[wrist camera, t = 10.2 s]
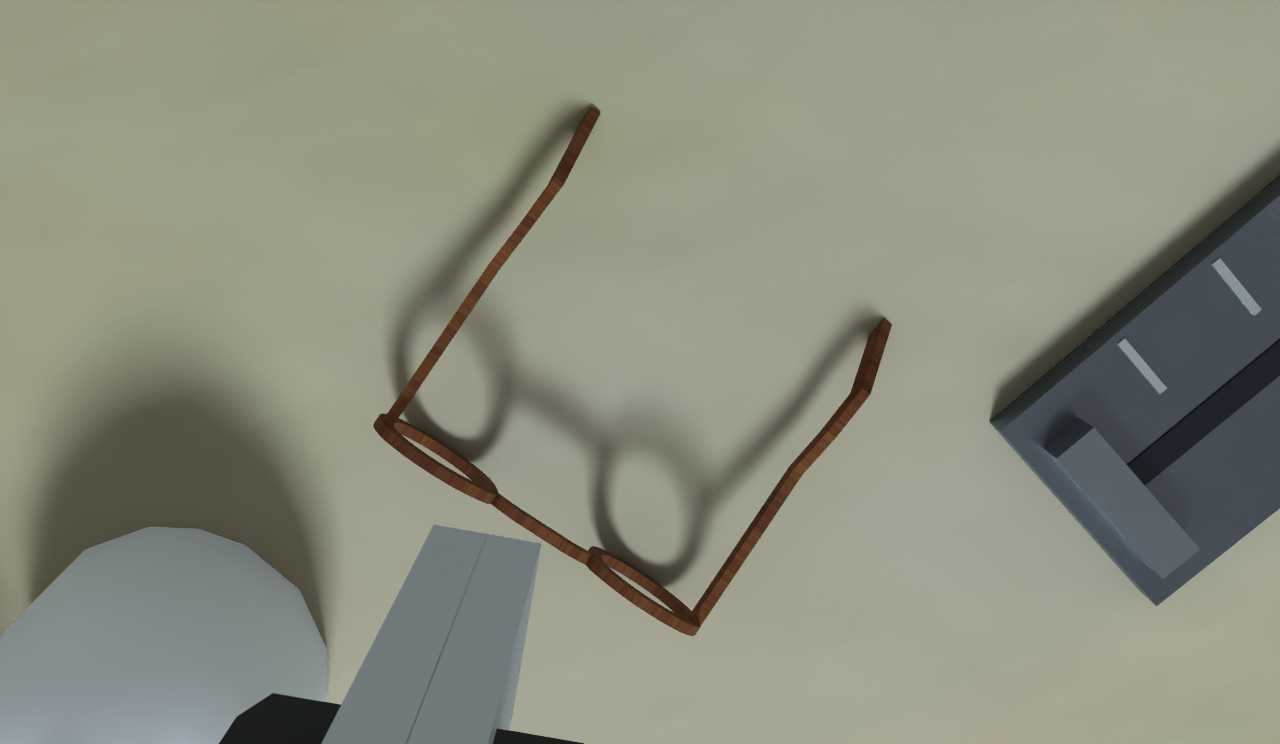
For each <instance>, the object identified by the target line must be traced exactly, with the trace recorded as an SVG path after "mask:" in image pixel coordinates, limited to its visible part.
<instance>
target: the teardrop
mask: <svg viewBox="0 0 1280 744" xmlns="http://www.w3.org/2000/svg"><path fill="white" fill-rule="evenodd" d="M272 693H276V694H282V695H287V696H293V697H299V698H305V699H310V700H316V701H322V702H324V701H325V698H326V696H327V693H328V678H327V648H326V646H325V644H324V641H323V639H322V637H321V635H320V633H319V631H318V629H317V626H316V624H315V622H314V620H313V618H312V616H311V613H310V611H309V609H308V607H307V605H306V603H305V600H304V598H303V596H302V594H301V592H300V590H299V589H298V588H297V587H296V586H295V585H293V584H292V583H291V582H290V581H288V580H287V579H286V578H285V577H284V576H282V575H281V574H280V573H279V572H278V571H276V570H275V569H274V568H273V567H272V566H270V565H269V564H268V563H267V562H265V561H264V560H263V559H262V558H261V557H259V556H258V555H257V554H256V553H255V552H253V551H252V550H251V549H250V548H249V547H247V546H246V545H244V544H241V543H238V542H235V541H233V540H230V539H227V538H224V537H221V536H218V535H215V534H212V533H209V532H207V531H204V530H201V529H195V528H171V527H147V528H144V529H141V530H138V531H135V532H132V533H130V534H127V535H124V536H121V537H118V538H115V539H113V540H110V541H107V542H104V543H101V544H98V545H96V546H93V547H90V548H87V549H85V550H84V551H83V552H82V553H81V554H80V555H79V556H78V557H77V558H76V559H75V560H74V561H73V562H72V563H71V564H70V565H69V566H68V567H67V568H66V569H65V570H64V571H63V572H62V573H61V574H60V575H59V576H58V577H57V578H56V579H55V580H54V581H53V582H52V583H51V584H50V585H49V586H48V587H47V588H46V589H45V590H44V591H43V592H42V593H41V594H40V595H39V596H38V597H37V598H36V599H35V600H34V601H33V602H32V603H31V604H30V605H29V606H28V607H27V608H26V609H25V610H24V611H23V612H22V613H21V614H20V616H19V617H18V618H17V619H16V620H15V621H14V622H13V623H12V624H11V625H10V626H9V627H8V628H7V630H6V631H5V632H4V633H3V634H2V635H1V636H0V744H219V742H220V741H221V739H222V738H223V736H224V735H225V733H226V732H227V730H228V729H229V727H230V726H231V724H232V723H233V721H234V720H235V718H236V717H237V716H238V715H240V714H241V713H243V712H244V711H246V710H248V709H249V708H251V707H252V706H254V705H255V704H257V703H258V702H260V701H261V700H263V699H264V698H266V697H267V696H269V695H271V694H272Z"/></svg>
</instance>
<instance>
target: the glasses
mask: <svg viewBox="0 0 1280 744" xmlns="http://www.w3.org/2000/svg"><path fill="white" fill-rule="evenodd" d="M599 115H600V113H599V112H597V111H596V110H594V109H593V108H590V110H589V111H588V113H587V114H586V116H585V117H584V119H583V120H582V122H581V124H580V125H579V127H578V129H577V130H576V132H575V134H574V136H573V138H572V140H571V142H570V144H569V146H568V148H567V150H566V151H565V153H564V155H563V157H562V159H561V161H560V163H559V165H558V167H557V169H556V171H555V172H554V174H553V176H552V178H551V180H550V182H549V184H548V186H547V187H546V188H545V190H544V191H543V192H542V194H541V195H540V197H539V198H538V199H537V201H536V202H535V204H534V205H533V206H532V208H531V209H530V211H529V212H528V213H527V215H526V216H525V217H524V219H523V220H522V222H521V223H520V224H519V226H518V227H517V228H516V230H515V231H514V232H513V233H512V235H511V236H510V237H509V239H508V240H507V241H506V243H505V244H504V245H503V247H502V248H501V249H500V250H499V252H498V253H497V254H496V256H495V257H494V258H493V260H492V261H491V262H490V263H489V265H488V266H487V268H486V269H485V271H484V272H483V274H482V275H481V277H480V278H479V280H478V281H477V283H476V284H475V286H474V287H473V288H472V290H471V291H470V293H469V294H468V296H467V297H466V299H465V300H464V302H463V303H462V305H461V306H460V308H459V309H458V311H457V312H456V313H455V315H454V316H453V318H452V319H451V321H450V322H449V324H448V325H447V327H446V328H445V330H444V331H443V333H442V334H441V336H440V337H439V338H438V340H437V341H436V343H435V344H434V346H433V347H432V349H431V350H430V352H429V353H428V355H427V356H426V358H425V359H424V361H423V362H422V364H421V365H420V366H419V368H418V369H417V371H416V372H415V374H414V375H413V377H412V378H411V380H410V381H409V383H408V384H407V386H406V387H405V389H404V390H403V391H402V393H401V394H400V396H399V397H398V399H397V400H396V402H395V403H394V405H393V406H392V408H391V409H390V411H389V412H388V414H380V415H379V417H378V418H377V420H376V421H375V423H374V425H373V426H374V429H375V430H376V431H377V433H378V434H379V435H380V436H381V437H382V438H383V439H384V440H385V441H386V442H387V443H389V444H390V445H391V446H392V447H393V448H395V449H396V450H397V451H399V452H400V453H401V454H402V455H404V456H405V457H407V458H408V459H409V460H411V461H412V462H414V463H415V464H417V465H418V466H420V467H421V468H423V469H424V470H426V471H427V472H429V473H430V474H432V475H433V476H435V477H437V478H438V479H440V480H441V481H443V482H445V483H447V484H448V485H450V486H452V487H453V488H455V489H457V490H459V491H461V492H463V493H465V494H467V495H469V496H471V497H473V498H475V499H477V500H480V501H482V502H484V503H487V504H492V505H493V506H495V507H496V508H497V509H498V510H500V511H501V512H502V513H504V514H505V515H506V516H508V517H509V518H511V519H512V520H514V521H515V522H517V523H518V524H520V525H521V526H523V527H524V528H526V529H527V530H529V531H530V532H532V533H534V534H535V535H537V536H538V537H540V538H541V539H543V540H544V541H546V542H548V543H549V544H551V545H552V546H554V547H555V548H557V549H558V550H560V551H562V552H563V553H565V554H567V555H568V556H570V557H572V558H574V559H575V560H577V561H579V562H581V563H583V564H585V565H586V566H587V567H588V568H589V569H590V570H591V571H592V572H593V573H594V574H595V575H597V576H598V577H599V578H600V579H601V580H603V581H604V582H605V583H606V584H608V585H609V586H610V587H611V588H613V589H614V590H615V591H617V592H618V593H619V594H621V595H622V596H623V597H625V598H626V599H627V600H629V601H630V602H632V603H633V604H635V605H636V606H637V607H639V608H641V609H642V610H644V611H645V612H647V613H648V614H650V615H651V616H653V617H655V618H656V619H658V620H659V621H661V622H663V623H665V624H666V625H668V626H670V627H672V628H674V629H675V630H677V631H679V632H682V633H684V634H686V635H690V636H694V635H695V634H696V633H697V631H698V630H699V628H700V627H701V625H702V623H703V622H704V620H705V619H706V617H707V616H708V614H709V613H710V611H711V610H712V608H713V607H714V605H715V604H716V602H717V601H718V599H719V598H720V597H721V595H722V594H723V592H724V591H725V589H726V588H727V586H728V585H729V583H730V582H731V580H732V579H733V577H734V576H735V574H736V573H737V571H738V570H739V568H740V567H741V565H742V564H743V562H744V561H745V559H746V558H747V556H748V555H749V553H750V552H751V550H752V549H753V547H754V546H755V544H756V543H757V541H758V540H759V538H760V537H761V535H762V534H763V532H764V531H765V530H766V528H767V527H768V525H769V524H770V522H771V521H772V519H773V518H774V516H775V515H776V513H777V512H778V510H779V509H780V507H781V506H782V504H783V503H784V501H785V500H786V498H787V497H788V495H789V494H790V492H791V491H792V489H793V488H794V486H795V485H796V483H797V482H798V480H799V479H800V477H801V476H802V475H803V474H804V472H805V471H806V470H807V469H808V468H809V467H810V466H811V465H812V464H813V462H814V461H815V460H816V459H817V458H818V457H819V456H820V455H821V454H822V452H823V451H824V450H825V449H826V448H827V447H828V446H829V445H830V444H831V442H832V441H833V440H834V439H835V438H836V437H837V436H838V434H839V433H840V432H841V430H842V429H843V428H844V427H845V425H846V424H847V423H848V422H849V420H850V419H851V418H852V417H853V415H854V414H855V413H856V412H857V410H858V409H859V408H860V407H861V405H862V404H863V403H864V402H865V400H866V399H867V398H868V397H869V395H870V393H871V390H872V387H873V384H874V381H875V377H876V374H877V371H878V368H879V364H880V361H881V358H882V355H883V352H884V348H885V345H886V342H887V339H888V335H889V332H890V329H891V326H892V325H891V324H890V323H889V322H888V321H887V320H885V319H883V320H882V321H881V322H880V323H879V325H878V326H877V327H876V328H875V329H874V330H873V332H872V333H871V334H870V335H869V338H868V341H867V344H866V347H865V350H864V353H863V356H862V359H861V363H860V366H859V369H858V372H857V375H856V378H855V381H854V384H853V387H852V390H851V393H850V394H849V396H848V397H847V398H846V400H845V401H844V402H843V403H842V405H841V406H840V407H839V408H838V410H837V411H836V412H835V413H834V415H833V416H832V417H831V419H830V420H829V421H828V422H827V424H826V425H825V426H824V427H823V429H822V430H821V431H820V432H819V434H818V435H817V436H816V437H815V438H814V439H813V440H812V442H811V443H810V444H809V445H808V446H807V447H806V448H805V449H804V451H803V452H802V453H801V454H800V455H799V456H798V457H797V459H796V460H795V461H794V462H793V463H792V464H791V465H790V466H789V468H788V469H787V471H786V472H785V474H784V475H783V477H782V478H781V480H780V481H779V483H778V484H777V486H776V487H775V489H774V490H773V492H772V493H771V495H770V496H769V498H768V499H767V501H766V502H765V504H764V505H763V506H762V508H761V509H760V511H759V512H758V514H757V515H756V517H755V518H754V520H753V521H752V523H751V524H750V526H749V527H748V529H747V530H746V532H745V533H744V535H743V536H742V538H741V539H740V541H739V542H738V544H737V545H736V547H735V548H734V550H733V551H732V553H731V554H730V556H729V557H728V559H727V560H726V562H725V563H724V565H723V566H722V567H721V569H720V570H719V572H718V573H717V575H716V576H715V578H714V579H713V581H712V582H711V584H710V585H709V587H708V588H707V590H706V591H705V593H704V594H703V596H702V597H701V599H700V600H699V602H698V603H697V605H696V606H695V608H694V609H693V611H691V610H690V609H689V608H688V607H687V606H686V605H684V604H683V603H682V602H681V601H680V600H679V599H677V598H676V597H675V596H674V595H672V594H671V593H670V592H669V591H667V590H666V589H665V588H663V587H662V586H661V585H659V584H658V583H656V582H655V581H654V580H652V579H651V578H649V577H647V576H646V575H644V574H643V573H641V572H640V571H638V570H637V569H635V568H634V567H632V566H630V565H629V564H627V563H626V562H624V561H623V560H621V559H620V558H618V557H616V556H614V555H613V554H611V553H609V552H607V551H605V550H603V549H601V548H598V547H595V546H593V547H590V549H589V550H588V551H587V550H585V549H583V548H581V547H579V546H578V545H576V544H574V543H573V542H571V541H570V540H568V539H566V538H565V537H563V536H562V535H560V534H559V533H557V532H556V531H554V530H552V529H551V528H549V527H548V526H546V525H545V524H543V523H542V522H540V521H539V520H537V519H535V518H534V517H532V516H531V515H529V514H528V513H526V512H525V511H523V510H521V509H520V508H518V507H517V506H515V505H514V504H513V503H511V502H510V501H508V500H507V499H506V498H504V497H503V496H501V495H500V494H499V493H498V490H497V488H496V486H495V485H494V483H493V482H492V481H491V480H490V478H489V477H487V476H486V475H485V474H484V473H483V472H482V471H481V470H479V469H478V468H477V467H476V466H474V465H473V464H472V463H470V462H469V461H468V460H466V459H465V458H464V457H462V456H461V455H459V454H458V453H456V452H455V451H453V450H451V449H450V448H448V447H447V446H445V445H444V444H442V443H441V442H439V441H438V440H436V439H434V438H433V437H431V436H430V435H428V434H427V433H425V432H423V431H422V430H420V429H418V428H416V427H415V426H413V425H411V424H409V423H407V422H405V421H403V420H401V419H399V416H400V415H401V414H402V412H403V411H404V409H405V408H406V406H407V405H408V403H409V402H410V400H411V399H412V397H413V396H414V394H415V393H416V391H417V390H418V388H419V387H420V386H421V384H422V383H423V381H424V380H425V378H426V377H427V375H428V374H429V372H430V371H431V369H432V368H433V366H434V365H435V363H436V362H437V361H438V359H439V358H440V356H441V355H442V353H443V352H444V350H445V349H446V347H447V346H448V344H449V343H450V341H451V340H452V338H453V337H454V336H455V334H456V333H457V331H458V330H459V328H460V327H461V325H462V324H463V322H464V321H465V319H466V318H467V316H468V315H469V313H470V312H471V311H472V309H473V308H474V306H475V305H476V303H477V302H478V300H479V299H480V297H481V296H482V294H483V293H484V291H485V290H486V288H487V287H488V285H489V284H490V283H491V281H492V280H493V278H494V277H495V275H496V274H497V272H498V271H499V269H500V268H501V267H502V265H503V264H504V263H505V261H506V260H507V259H508V258H509V256H510V255H511V254H512V252H513V251H514V250H515V248H516V247H517V246H518V244H519V243H520V242H521V240H522V239H523V238H524V237H525V235H526V234H527V233H528V231H529V230H530V229H531V227H532V226H533V225H534V223H535V222H536V221H537V219H538V218H539V217H540V215H541V214H542V213H543V211H544V210H545V209H546V207H547V206H548V205H549V203H550V202H551V201H552V199H553V198H554V197H555V195H556V194H557V193H558V191H559V190H560V189H561V187H562V186H563V185H564V183H565V181H566V179H567V177H568V175H569V173H570V171H571V169H572V167H573V166H574V164H575V162H576V160H577V158H578V156H579V154H580V152H581V150H582V148H583V146H584V144H585V142H586V140H587V138H588V136H589V134H590V133H591V131H592V129H593V127H594V125H595V123H596V121H597V119H598V117H599ZM401 434H402V435H404V436H406V437H408V438H410V439H412V440H414V441H416V442H417V443H419V444H421V445H423V446H424V447H426V448H428V449H429V450H431V451H433V452H434V453H436V454H437V455H439V456H440V457H442V458H443V459H445V460H446V461H448V462H449V463H451V464H452V465H453V466H455V467H456V468H457V469H459V470H460V471H461V472H463V473H464V474H465V475H466V476H468V477H469V478H470V479H471V480H472V481H471V480H469V479H467V478H465V477H463V476H461V475H459V474H458V473H456V472H454V471H452V470H451V469H449V468H447V467H446V466H444V465H442V464H441V463H439V462H438V461H436V460H434V459H433V458H431V457H430V456H428V455H427V454H425V453H424V452H423V451H421V450H420V449H418V448H417V447H416V446H414V445H413V444H412V443H410V442H409V441H408V440H407V439H405V438H404V437H403V436H402V435H401ZM609 567H610V568H612V569H614V570H616V571H618V572H619V573H621V574H623V575H624V576H626V577H628V578H629V579H631V580H632V581H634V582H635V583H637V584H638V585H640V586H641V587H643V588H644V589H646V590H647V591H649V592H650V593H651V594H653V595H654V596H655V597H657V598H658V599H659V600H660V601H662V602H663V603H664V604H665V605H667V606H668V607H669V608H670V609H671V610H672V611H673V612H672V611H670V610H668V609H666V608H665V607H663V606H661V605H659V604H658V603H656V602H655V601H653V600H651V599H650V598H648V597H647V596H645V595H644V594H642V593H641V592H640V591H638V590H637V589H635V588H634V587H633V586H631V585H630V584H629V583H627V582H626V581H625V580H623V579H622V578H621V577H620V576H618V575H617V574H616V573H615V572H614V571H612V570H611V569H610V568H609Z"/></svg>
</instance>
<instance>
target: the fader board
mask: <svg viewBox="0 0 1280 744" xmlns="http://www.w3.org/2000/svg"><path fill="white" fill-rule="evenodd" d="M990 423H991V424H992V425H993V427H994V428H995V429H996V430H997V431H998V432H999V433H1000V434H1001V436H1002V437H1003V438H1004V439H1005V440H1006V441H1007V442H1008V443H1009V445H1010V446H1011V447H1012V448H1013V449H1014V450H1015V451H1016V452H1017V453H1018V455H1019V456H1020V457H1021V458H1022V459H1023V460H1024V461H1025V462H1026V464H1027V465H1028V466H1029V467H1030V468H1031V469H1032V470H1033V471H1034V473H1035V474H1036V475H1037V476H1038V477H1039V478H1040V479H1041V480H1042V482H1043V483H1044V484H1045V485H1046V486H1047V487H1048V488H1049V489H1050V491H1051V492H1052V493H1053V494H1054V495H1055V496H1056V497H1057V498H1058V499H1059V501H1060V502H1061V503H1062V504H1063V505H1064V506H1065V507H1066V508H1067V510H1068V511H1069V512H1070V513H1071V514H1072V515H1073V516H1074V517H1075V519H1076V520H1077V521H1078V522H1079V523H1080V524H1081V525H1082V526H1083V528H1084V529H1085V530H1086V531H1087V532H1088V533H1089V534H1090V535H1091V537H1092V538H1093V539H1094V540H1095V541H1096V542H1097V543H1098V544H1099V545H1100V547H1101V548H1102V549H1103V550H1104V551H1105V552H1106V553H1107V554H1108V556H1109V557H1110V558H1111V559H1112V560H1113V561H1114V562H1115V563H1116V565H1117V566H1118V567H1119V568H1120V569H1121V570H1122V571H1123V572H1124V574H1125V575H1126V576H1127V577H1128V578H1129V579H1130V580H1131V581H1132V583H1133V584H1134V585H1135V586H1136V587H1137V588H1138V589H1139V590H1140V591H1141V593H1143V594H1144V595H1145V596H1146V597H1147V598H1148V599H1149V600H1150V601H1151V602H1152V603H1154V604H1155V605H1156V606H1157V605H1159V604H1160V603H1161V602H1162V601H1164V600H1165V599H1166V598H1167V597H1169V596H1170V595H1171V594H1172V593H1174V592H1175V591H1176V590H1177V589H1179V588H1180V587H1181V586H1183V585H1184V584H1185V583H1186V582H1188V581H1189V580H1190V579H1191V578H1193V577H1194V576H1195V575H1196V574H1198V573H1199V572H1200V571H1201V570H1203V569H1204V568H1205V567H1206V566H1208V565H1209V564H1210V563H1211V562H1213V561H1214V560H1215V559H1216V558H1218V557H1219V556H1220V555H1221V554H1223V553H1224V552H1225V551H1227V550H1228V549H1229V548H1230V547H1232V546H1233V545H1234V544H1235V543H1237V542H1238V541H1239V540H1240V539H1242V538H1243V537H1244V536H1245V535H1247V534H1248V533H1249V532H1250V531H1252V530H1253V529H1254V528H1255V527H1257V526H1258V525H1259V524H1260V523H1262V522H1263V521H1264V520H1265V519H1267V518H1268V517H1269V516H1271V515H1272V514H1273V513H1274V512H1276V511H1277V510H1278V509H1279V508H1280V176H1279V177H1277V178H1276V179H1275V180H1274V181H1273V182H1272V183H1270V184H1269V185H1268V186H1267V187H1266V188H1265V189H1263V190H1262V191H1261V192H1260V193H1259V194H1257V195H1256V196H1255V197H1254V198H1253V199H1252V200H1250V201H1249V202H1248V203H1247V204H1246V205H1244V206H1243V207H1242V208H1241V209H1240V210H1239V211H1237V212H1236V213H1235V214H1234V215H1233V216H1232V217H1230V218H1229V219H1228V220H1227V221H1226V222H1224V223H1223V224H1222V225H1221V226H1220V227H1219V228H1217V229H1216V230H1215V231H1214V232H1213V233H1212V234H1210V235H1209V236H1208V237H1207V238H1206V239H1204V240H1203V241H1202V242H1201V243H1200V244H1199V245H1197V246H1196V247H1195V248H1194V249H1193V250H1192V251H1190V252H1189V253H1188V254H1187V255H1186V256H1184V257H1183V258H1182V259H1181V260H1180V261H1179V262H1177V263H1176V264H1175V265H1174V266H1173V267H1171V268H1170V269H1169V270H1168V271H1167V272H1166V273H1164V274H1163V275H1162V276H1161V277H1160V278H1159V279H1157V280H1156V281H1155V282H1154V283H1153V284H1151V285H1150V286H1149V287H1148V288H1147V289H1146V290H1144V291H1143V292H1142V293H1141V294H1140V295H1139V296H1137V297H1136V298H1135V299H1134V300H1133V301H1131V302H1130V303H1129V304H1128V305H1127V306H1126V307H1124V308H1123V309H1122V310H1121V311H1120V312H1118V313H1117V314H1116V315H1115V316H1114V317H1113V318H1111V319H1110V320H1109V321H1108V322H1107V323H1106V324H1104V325H1103V326H1102V327H1101V328H1100V329H1098V330H1097V331H1096V332H1095V333H1094V334H1093V335H1091V336H1090V337H1089V338H1088V339H1087V340H1086V341H1084V342H1083V343H1082V344H1081V345H1080V346H1078V347H1077V348H1076V349H1075V350H1074V351H1073V352H1071V353H1070V354H1069V355H1068V356H1067V357H1066V358H1064V359H1063V360H1062V361H1061V362H1060V363H1058V364H1057V365H1056V366H1055V367H1054V368H1053V369H1051V370H1050V371H1049V372H1048V373H1047V374H1045V375H1044V376H1043V377H1042V378H1041V379H1040V380H1038V381H1037V382H1036V383H1035V384H1034V385H1033V386H1031V387H1030V388H1029V389H1028V390H1027V391H1025V392H1024V393H1023V394H1022V395H1021V396H1020V397H1018V398H1017V399H1016V400H1015V401H1014V402H1013V403H1011V404H1010V405H1009V406H1008V407H1007V408H1005V409H1004V410H1003V411H1002V412H1001V413H1000V414H998V415H997V416H996V417H995V418H994V419H993V420H991V421H990Z"/></svg>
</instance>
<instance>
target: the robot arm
mask: <svg viewBox="0 0 1280 744" xmlns="http://www.w3.org/2000/svg"><path fill="white" fill-rule="evenodd" d="M540 548H541V544H540V543H535V542H529V541H523V540H518V539H512V538H506V537H501V536H495V535H489V534H484V533H478V532H472V531H467V530H461V529H455V528H450V527H444V526H438V525H433V527H432V529H431V531H430V533H429V535H428V537H427V539H426V541H425V543H424V545H423V547H422V549H421V551H420V553H419V554H418V556H417V558H416V560H415V562H414V564H413V566H412V568H411V570H410V572H409V574H408V576H407V578H406V580H405V582H404V584H403V586H402V588H401V590H400V591H399V593H398V595H397V597H396V599H395V601H394V603H393V605H392V607H391V609H390V611H389V613H388V615H387V617H386V619H385V621H384V623H383V625H382V627H381V629H380V630H379V632H378V634H377V636H376V638H375V640H374V642H373V644H372V646H371V648H370V650H369V652H368V654H367V656H366V658H365V660H364V662H363V664H362V666H361V667H360V669H359V671H358V673H357V675H356V677H355V679H354V681H353V683H352V685H351V687H350V689H349V691H348V693H347V695H346V697H345V699H344V701H343V703H342V705H339V704H334V703H328V702H322V701H316V700H310V699H305V698H299V697H293V696H287V695H282V694H276V693H272V694H271V695H269V696H267V697H266V698H264V699H263V700H261V701H260V702H258V703H257V704H255V705H254V706H252V707H251V708H249V709H248V710H246V711H244V712H243V713H241V714H240V715H238V716H237V717H236V718H235V720H234V721H233V723H232V724H231V726H230V727H229V729H228V730H227V732H226V733H225V735H224V736H223V738H222V739H221V741H220V742H219V744H584V743H579V742H573V741H567V740H561V739H556V738H550V737H544V736H538V735H532V734H527V733H521V732H515V731H509V726H510V722H511V718H512V714H513V708H514V702H515V696H516V690H517V684H518V678H519V672H520V666H521V660H522V654H523V649H524V643H525V637H526V631H527V625H528V619H529V613H530V607H531V601H532V595H533V589H534V583H535V578H536V572H537V566H538V560H539V554H540Z"/></svg>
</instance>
